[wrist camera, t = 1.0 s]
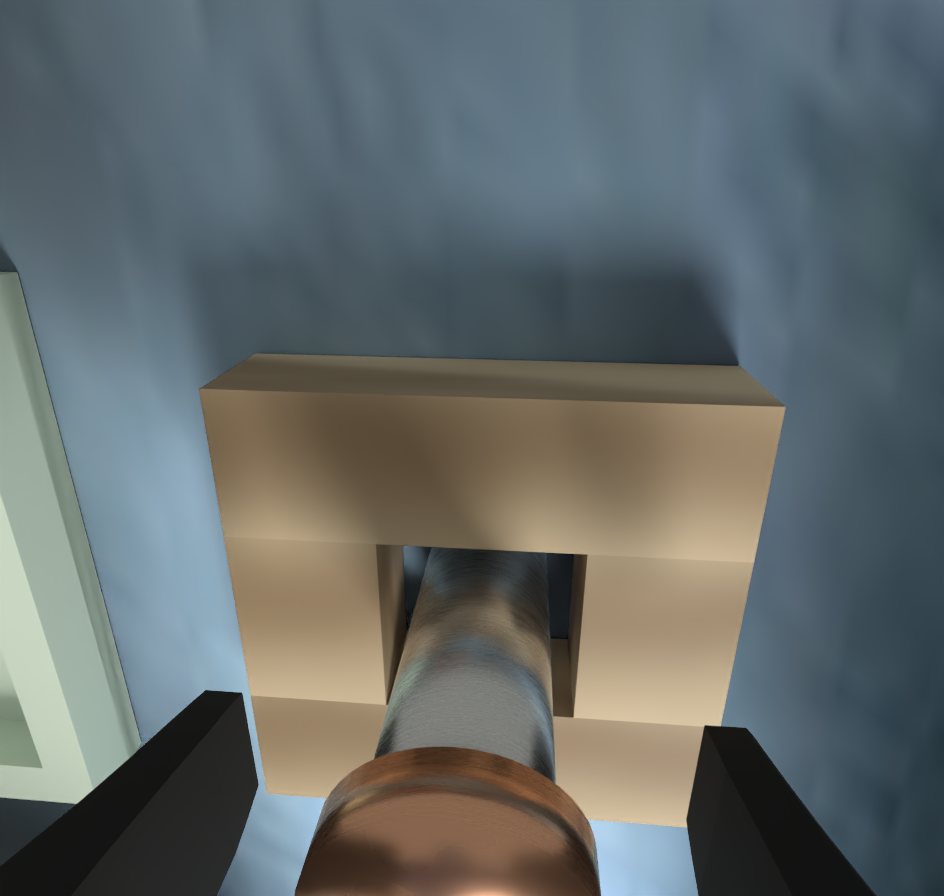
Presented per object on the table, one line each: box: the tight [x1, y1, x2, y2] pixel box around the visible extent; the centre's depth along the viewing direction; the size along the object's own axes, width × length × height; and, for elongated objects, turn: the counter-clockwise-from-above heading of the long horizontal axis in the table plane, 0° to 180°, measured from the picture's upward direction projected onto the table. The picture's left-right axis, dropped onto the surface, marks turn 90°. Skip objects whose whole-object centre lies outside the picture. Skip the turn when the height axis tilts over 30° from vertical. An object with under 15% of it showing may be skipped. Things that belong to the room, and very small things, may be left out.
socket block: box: [199, 353, 786, 827], centre depth 14 cm, size 10×10×2 cm
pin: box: [295, 547, 601, 896], centre depth 12 cm, size 4×4×8 cm
